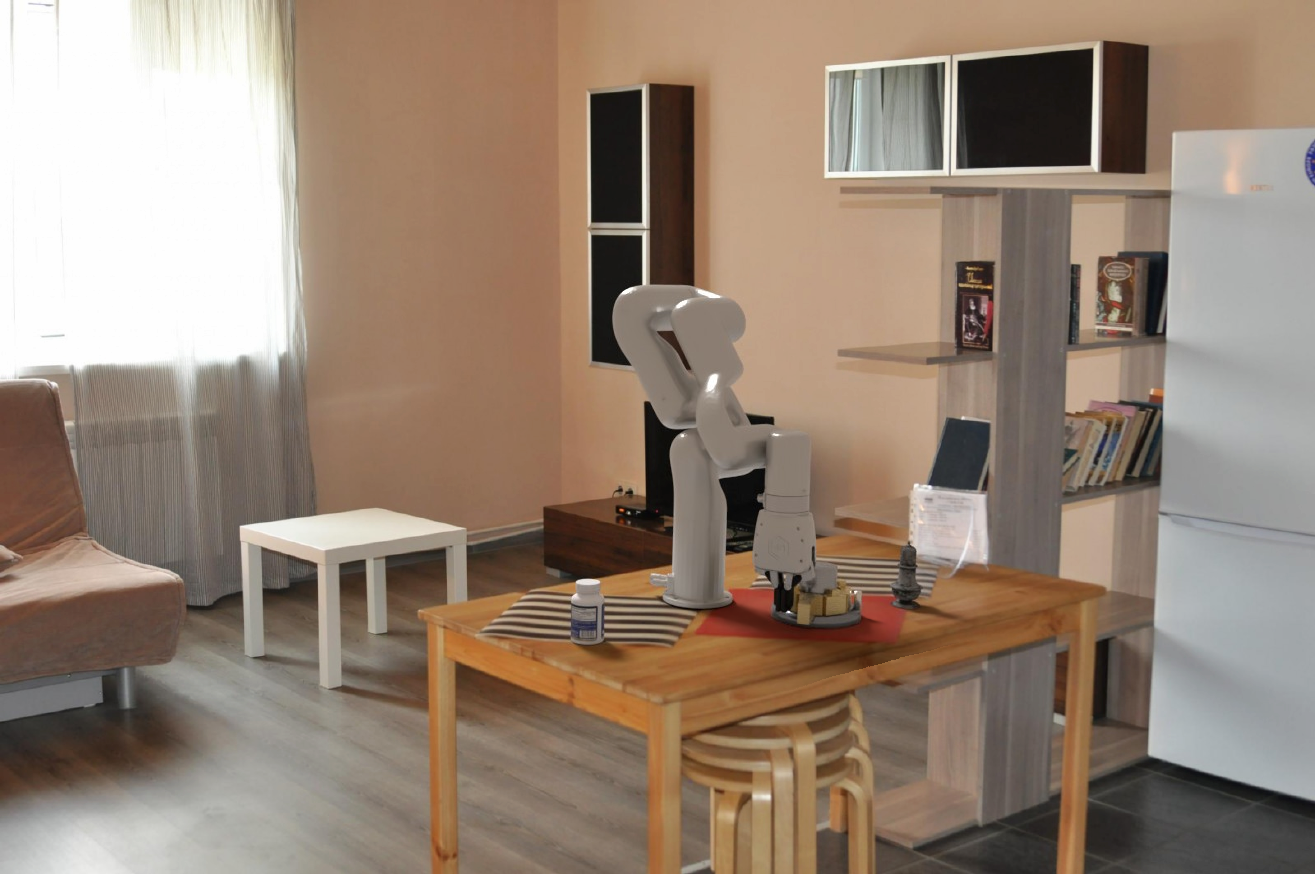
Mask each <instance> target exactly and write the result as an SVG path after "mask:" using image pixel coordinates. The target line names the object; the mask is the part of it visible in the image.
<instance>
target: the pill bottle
mask: <svg viewBox="0 0 1315 874" xmlns="http://www.w3.org/2000/svg"><path fill="white" fill-rule="evenodd" d="M601 585H602V583H601V581H600V580H598V579H593V578H582V579H577V580H576V581H575V591H576V593H574V594H573V595H572V596H571V599H570V640H571V642H572V643H575V644H578V645H584V646H592V645H593V646H594V645H597V644H601V643H602V642H603V641H604V640H605V609H606V608H605V606H606V605H605V604H606V603H605V602H606V601H605V597H604V595H603V594H602V593H600V592H601Z"/></svg>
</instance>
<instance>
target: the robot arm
mask: <svg viewBox="0 0 1315 874" xmlns="http://www.w3.org/2000/svg"><path fill="white" fill-rule="evenodd" d="M613 305H614V306H613V309H612V328H613V333H614V336H615V340H616V341H617V344H618V346H619V348H620V350H621V352H622V353H623V354H624V356H625V357H626V359H627V361H628V362H629V364H630V365H631V367H632V369H633V371H634V372H635V373H636V375H637V377H638V380H639V382H640V383H641V386H642V388H643V391H644V392H645V395H646V396H647V398H648V401H649V403H650V404H651V406H652V409H653V410H654V412H655V415H656V417H657V418H658V420H659V421H660V423H661V424H662V425H663V426H664V427H665V428H668V429H672V430H683V431H682V432H680V433H679V434H677V435H676V436H675V438H673V440H672V442H671V446H670V449H669V460H670V467H671V474H672V482H673V526H672V527H673V529H672V531H673V534H672V561H671V563H672V564H671V565H672V567H671V572H670V573H669V572H668V573H667V574H661V573H654V572H651V573H650V575H649V583H650V584H652V586H653V587H664V588H665V590H664V591H663V592H662V600H663V601H664V602H665V603H667V604H669V605H673V606H675V607H680V608H688V609H698V610H699V609H717V608H723V607H726V606H728V605H730V604H731V603H732V602H733V594H732V593H731V592H730V591H729V590H726V589H725V579H726V577H725V575H726V549H727V548H726V546H727V516H728V515H727V512H728V506H727V505H728V504H727V499H726V495H725V493H724V491H723V489H722V487H721V483H720V479H724V478H732V477H734V478H735V477H738V476H744V475H746V474H747V475H748V474H749V473H751V472H752V471H753V470H756V469H757V470H758V469H764V470H765V473H764V492H763V493H761V494H760V493H758V494H757V498H756V500H757V502H758V503H762V508H763V509H760V510H759V512H758V515H757V519H756V524H755V530H754V538H753V545H752V556H751V557H752V558H751V559H752V560H751V561H752V565H753V566H754V572H755V573H756V574H758V575H762V576H765V578H766V579H767V581H768V582H769V583H771V587H772V589H773V602H774V605H776V606H775V611H776V612H780V611H781V612H782V613H785V612H787V611H789V610H791V607H793V604H794V587H796V586H797V585H798V584H799V583H800V582H801V581H809V580H812V579H814V578H815V571H814V568H815V565H816V561H817V538H816V537H817V536H816V527H815V521H814V516H813V512H810V497H811V495H810V494H811V493H810V492H811V464H812V438H811V436H810V434H809V433H807V432H806V431H803V430H798V429H797V430H796V429H785V428H782V427H780V426H777V425H773V424H769V423H764V424H763V423H761V424H751V422H750V420H749V418H748V416H747V414H746V411H745V410H744V409H743V407H742V405H741V403H740V401H739V398H738V397H737V395H736V393H735V392H734V390H733V389H732V385H734V384H735V383H736V382H737V381H739V379H740V378H741V377H742V376H743V373H744V364H743V361H742V359H741V358H740V355H739V354H738V351H737V349H736V348H735V346H734V344H733V343H736V342H738V341H739V340H740V339H741V338H742V337H743V336H744V334H745V331H746V327H747V322H746V321H747V320H746V315H745V313H744V311H743V309H742V307H741V306H740V304H739V303H738V302H736V301H735V300H734V299H732V298H730V297H729V296H725V295H722V294H719V293H715V292H713V291H708V290H706V289H703V288H699V287H697V286H692V285H685V284H644V285H643V284H642V285H641V284H639V285H635V286H631V287H629V288H627V289H625V290H623V291H622V292H621V293H620V294H619V295H618V297H617V298H616V300H615V303H614V304H613ZM664 331H665V332H668V331H669V332H671V331H672V332H673V333H674V335H675V337H676V339H677V342H678V344H679V346H680V348H681V351H682V353H683V354H684V356H685V359H686V360H687V363H688V365H689V367H690V370H691V372H692V374H693V375H692V374H690V372H689V371H688V370H687V369H686V367H685V365H684V363H683V360H682V359H681V357H680V355H679V353H678V352H677V350H676V349H675V348H674V346H673V345H671V343H669V342H668V341H667V340H666V339H664V338H663V337H662V336H661V335H660V334H659V333H658V332H664ZM785 574H786V575H785ZM784 575H785V576H784Z"/></svg>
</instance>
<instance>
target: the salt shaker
mask: <svg viewBox="0 0 1315 874" xmlns="http://www.w3.org/2000/svg"><path fill="white" fill-rule="evenodd" d="M906 543H907V544H906V545H903V546H902V547H900V549H899V550H900V551H899V563H897V567H898V576H897V577H898V578H897V580H896V581H895V582H891V583H890V584H889V585H890V587H891V592H892V595H893V597H895V599H894V600H893V601H891V602H890V605H891V606H892V607H894V606H895V607H894V608H897V607H898V609H905V610H915V609H918V608H920V607H921V604H920V603H919V602H917V601H916V600H917V599H918V598H919V597H920V596H921V593H922V590H923V588H924V587H923V585H922V584H919V583H918V582H917V577H916V574H917V568H919V567H918V564H917V554H918V553H917V549H916V547H915V546H913V545H912V544H911V540H908V541H907V542H906Z"/></svg>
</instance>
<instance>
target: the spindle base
mask: <svg viewBox="0 0 1315 874" xmlns="http://www.w3.org/2000/svg"><path fill="white" fill-rule="evenodd" d="M814 571H815V578H814V579H812V580H809V581H801V582H800V583H799V584H798V585H799V586H800V592H803V593H811V594H821V595H824V594H827V589H830V588H837V579H838V565H836V564H834V563H830V562H826V561H819V560H818V561H817V560H816V565H815V568H814ZM862 601H863V590H859V589H857V590H854V591H853V603H852V602H851V608H850V609H849V611H848V612H845V613H843V614H835V615H828V616H825V615H822V616H820V615H816V616H815V617H814V619H813V620H812V621H811V623H810V624H809V625H807V624H798V623H797V617H798V612H793V611H791V610H789V611H787V612H785V613H782V612H781V611H780V612H776V611H775V606H776V605H774V601H772V603H771V605H770V607H771V609H770V610H771V611H770V616H771V617H772V618H773V619H774V620H776V621H777V622H780V623H783V624H786V623H787V624H786V625H789V624H791V625H790V626H794V627H800V628H807V629H818V628H823V629H822V630H826V629H827V630H828V629H829V630H831V629H842V628H849V627H852V626H855V625H857V624H858V623H860V622H861V619H862V604H863V603H862ZM825 628H826V629H825Z"/></svg>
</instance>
